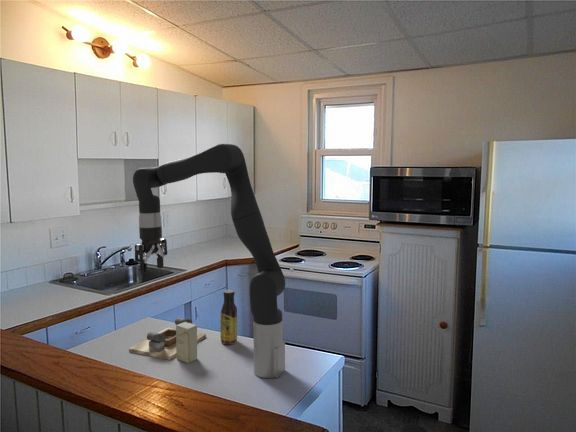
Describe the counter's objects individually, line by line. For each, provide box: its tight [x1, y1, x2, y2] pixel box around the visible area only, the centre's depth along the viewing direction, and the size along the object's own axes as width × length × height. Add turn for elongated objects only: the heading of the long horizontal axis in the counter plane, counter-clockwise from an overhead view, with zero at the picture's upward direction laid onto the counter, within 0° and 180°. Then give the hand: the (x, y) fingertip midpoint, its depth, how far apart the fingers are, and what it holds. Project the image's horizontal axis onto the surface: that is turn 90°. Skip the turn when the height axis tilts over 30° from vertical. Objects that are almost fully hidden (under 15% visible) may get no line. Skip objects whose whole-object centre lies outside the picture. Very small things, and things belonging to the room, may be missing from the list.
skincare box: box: [175, 322, 198, 364], centre depth 154 cm, size 6×4×12 cm
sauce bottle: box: [219, 289, 238, 346], centre depth 168 cm, size 6×6×20 cm
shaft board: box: [128, 317, 207, 361], centre depth 167 cm, size 18×22×7 cm
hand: (152, 270), depth 159 cm, fingers open, 8 cm apart
